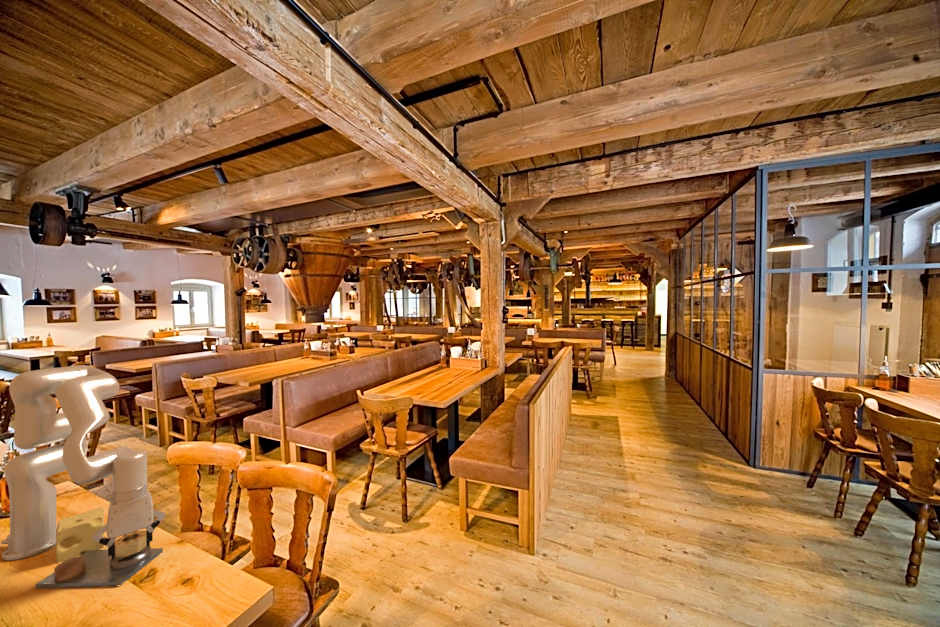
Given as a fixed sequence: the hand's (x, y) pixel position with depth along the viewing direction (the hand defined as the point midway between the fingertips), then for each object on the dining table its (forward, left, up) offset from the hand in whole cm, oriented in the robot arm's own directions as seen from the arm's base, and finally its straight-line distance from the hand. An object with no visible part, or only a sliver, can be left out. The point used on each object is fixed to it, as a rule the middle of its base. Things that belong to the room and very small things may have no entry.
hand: (130, 550), depth 106 cm
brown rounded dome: (-12, -5, -4) cm, 14 cm away
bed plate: (-6, -2, -4) cm, 8 cm away
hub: (0, 0, -4) cm, 4 cm away
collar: (0, 0, 0) cm, 0 cm away
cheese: (-23, +8, -4) cm, 25 cm away
